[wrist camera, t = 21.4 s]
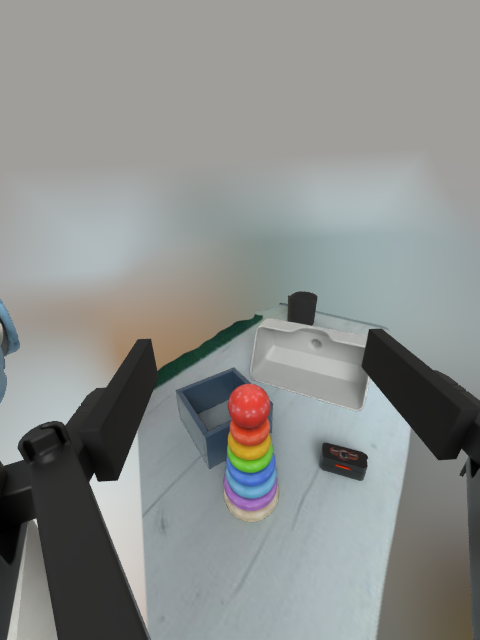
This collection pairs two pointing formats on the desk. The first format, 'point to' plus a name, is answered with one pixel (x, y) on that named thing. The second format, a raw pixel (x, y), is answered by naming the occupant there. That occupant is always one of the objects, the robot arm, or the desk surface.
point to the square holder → (204, 398)
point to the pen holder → (302, 308)
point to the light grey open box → (311, 362)
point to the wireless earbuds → (343, 461)
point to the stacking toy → (250, 456)
